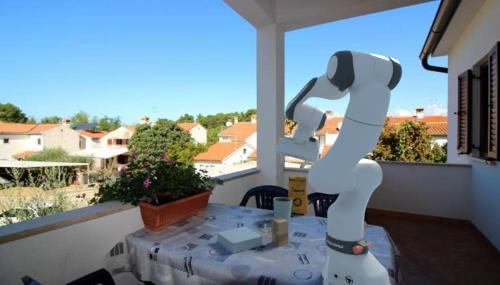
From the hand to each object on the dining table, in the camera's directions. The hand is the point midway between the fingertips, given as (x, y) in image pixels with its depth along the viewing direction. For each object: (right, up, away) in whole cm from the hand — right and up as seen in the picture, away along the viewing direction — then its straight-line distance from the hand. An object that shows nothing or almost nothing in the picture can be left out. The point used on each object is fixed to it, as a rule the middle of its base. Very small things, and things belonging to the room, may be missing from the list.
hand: (291, 165), depth 117 cm
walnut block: (-6, -33, -4) cm, 34 cm away
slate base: (-23, -33, -5) cm, 41 cm away
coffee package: (+11, -32, +41) cm, 53 cm away
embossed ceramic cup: (-1, -33, +25) cm, 41 cm away
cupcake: (+32, -33, +7) cm, 47 cm away
